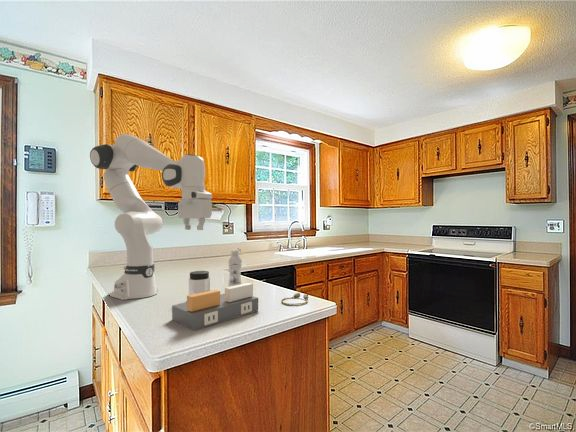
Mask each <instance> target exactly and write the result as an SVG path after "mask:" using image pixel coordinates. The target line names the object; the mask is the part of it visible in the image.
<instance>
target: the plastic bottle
mask: <svg viewBox="0 0 576 432" xmlns="http://www.w3.org/2000/svg"><path fill="white" fill-rule="evenodd" d="M230 255H231V256H230V257H229V259H228V268H229V269H228V271H229V278H228V279H229V280H228V286H227V287H231V286H235V285H240V284H243V283H242V277H241V275H242V273H241V272H242V266H243V265H242V263H243V261H242V259H241V257H240V256H239V255H240V250H238V249H237V250H231V252H230Z"/></svg>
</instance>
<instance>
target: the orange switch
mask: <svg viewBox="0 0 576 432" xmlns="http://www.w3.org/2000/svg"><path fill="white" fill-rule="evenodd" d="M220 295H221V290H218V289H213V290H210V291H207V292H202V293H197V294H192V295H189V294H187V295H186V302H187V310H189V311H191V312H193V311H197V310H200V309H204V308H208V307H212V306H216V305H220Z"/></svg>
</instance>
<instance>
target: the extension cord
mask: <svg viewBox="0 0 576 432" xmlns="http://www.w3.org/2000/svg"><path fill="white" fill-rule="evenodd" d="M300 296H301V293H300V292H297V293H295V294H294V295H293V296H292V297H284V298H283V299H281V304H283V305H285V306H289V307H290V306H291V307H295V306H304V305H306V304H309V301H308V299H309V294H307V293H305V294H303V296H302V297H303V298H300ZM288 299H298V300H302V301H305V302H299V303H297V304H296V303H290V304H289V303H286V302H283V301H286V300H288Z"/></svg>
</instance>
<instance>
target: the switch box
mask: <svg viewBox="0 0 576 432" xmlns="http://www.w3.org/2000/svg"><path fill="white" fill-rule="evenodd" d="M258 311H259V297H257V296H254V295H253V296H251V297H247V298H243V299H240V300H236V301H232V302H228V301H225V293H220V305H216V306H212V307H208V308H204V309H200V310H197V311H193V312H191V311H189V310H187V301H186V302H182V303H177V304H173V305H171V315H172V316H171V319H172V320H173V321H174V322H176V323H178V324H180V325H182V326H184V327H186V328H188V329H190V330H192V331H197V330H200V329H204V328H206V327H210V326H214V325H217V324H220V323H224V322H226V321H231V320H232V319H233V320H234V319H237V318H240V317H242V316H246V315H249V314H252V313H256V312H258Z"/></svg>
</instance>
